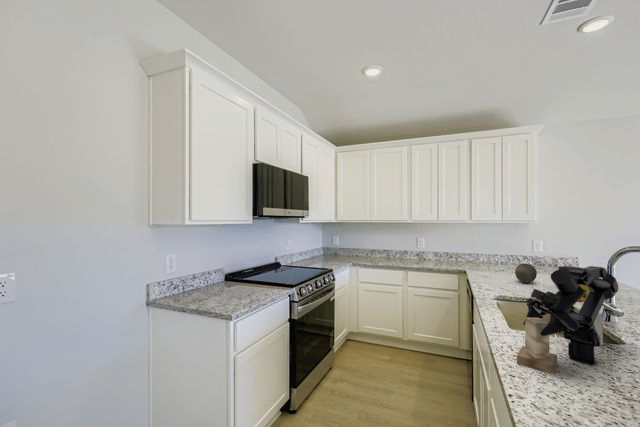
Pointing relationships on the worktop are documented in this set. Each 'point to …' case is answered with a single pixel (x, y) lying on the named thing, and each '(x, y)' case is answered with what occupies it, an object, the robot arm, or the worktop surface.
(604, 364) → the worktop surface
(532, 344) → the ash block
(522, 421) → the worktop surface
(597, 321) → the skincare box
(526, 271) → the cantaloupe
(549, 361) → the walnut block
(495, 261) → the worktop surface
